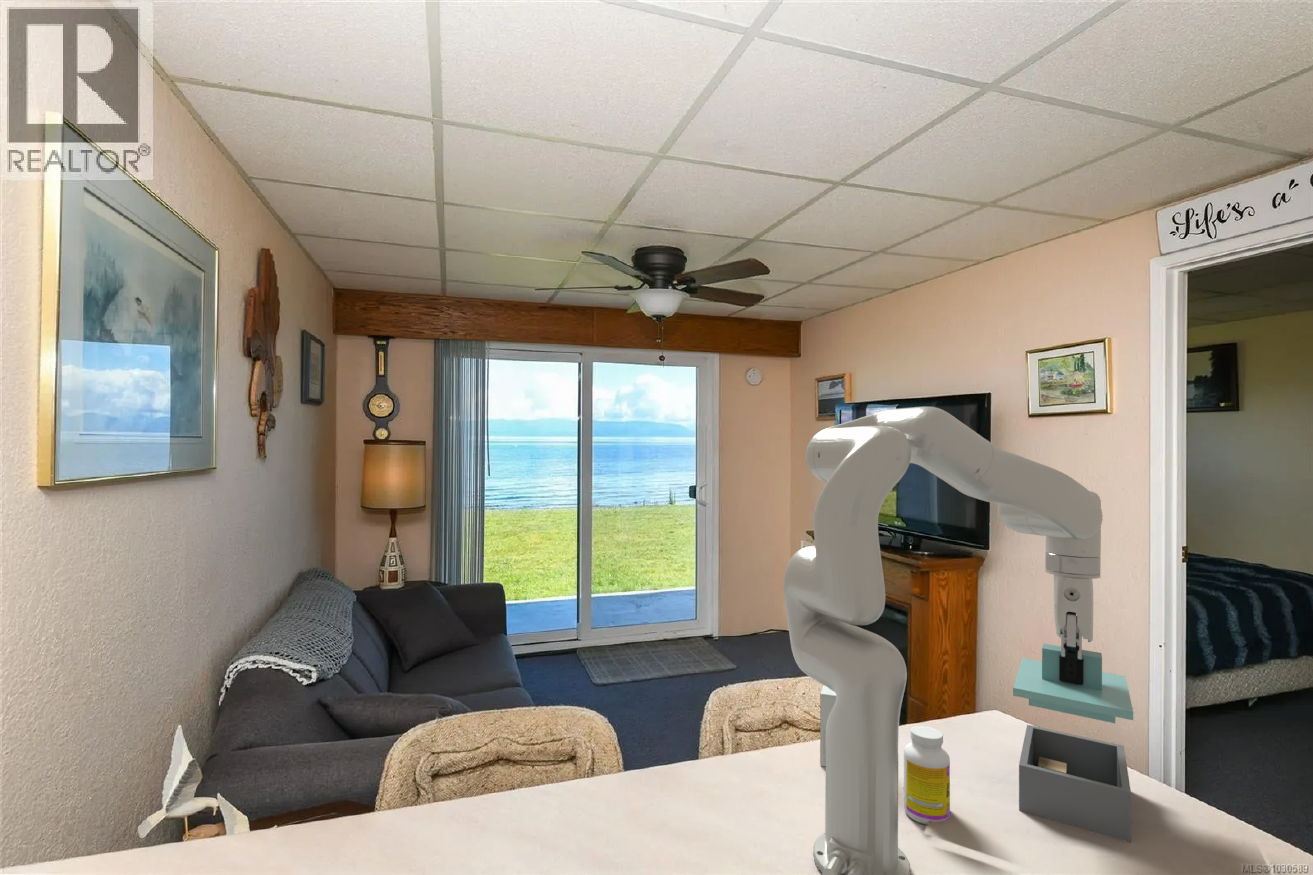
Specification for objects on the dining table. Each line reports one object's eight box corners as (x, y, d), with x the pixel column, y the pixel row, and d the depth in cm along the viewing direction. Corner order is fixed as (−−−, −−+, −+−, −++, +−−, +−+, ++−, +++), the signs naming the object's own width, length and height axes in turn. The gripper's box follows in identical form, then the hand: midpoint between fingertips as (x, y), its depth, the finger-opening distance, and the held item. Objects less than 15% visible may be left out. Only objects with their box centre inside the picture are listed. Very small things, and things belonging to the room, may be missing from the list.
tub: (1131, 849, 90) (1131, 792, 90) (1019, 816, 98) (1019, 764, 98) (1124, 794, 105) (1123, 745, 105) (1027, 769, 113) (1027, 724, 113)
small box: (823, 746, 121) (823, 678, 121) (858, 752, 119) (858, 682, 119) (819, 766, 113) (819, 693, 114) (856, 772, 111) (856, 698, 111)
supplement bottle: (954, 830, 94) (955, 744, 95) (908, 824, 96) (908, 739, 96) (943, 806, 101) (944, 725, 101) (900, 801, 102) (900, 721, 102)
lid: (1133, 731, 90) (1133, 676, 90) (1012, 705, 98) (1013, 655, 98) (1125, 692, 106) (1125, 646, 106) (1022, 673, 114) (1022, 630, 114)
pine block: (1066, 791, 104) (1066, 773, 104) (1037, 784, 106) (1037, 766, 106) (1066, 781, 107) (1066, 763, 107) (1039, 774, 109) (1039, 756, 109)
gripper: (1102, 575, 94) (1101, 700, 93) (1099, 562, 107) (1098, 670, 107) (1042, 569, 98) (1041, 688, 97) (1047, 557, 111) (1046, 661, 111)
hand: (1071, 678), depth 102 cm, fingers closed on lid, 3 cm apart
